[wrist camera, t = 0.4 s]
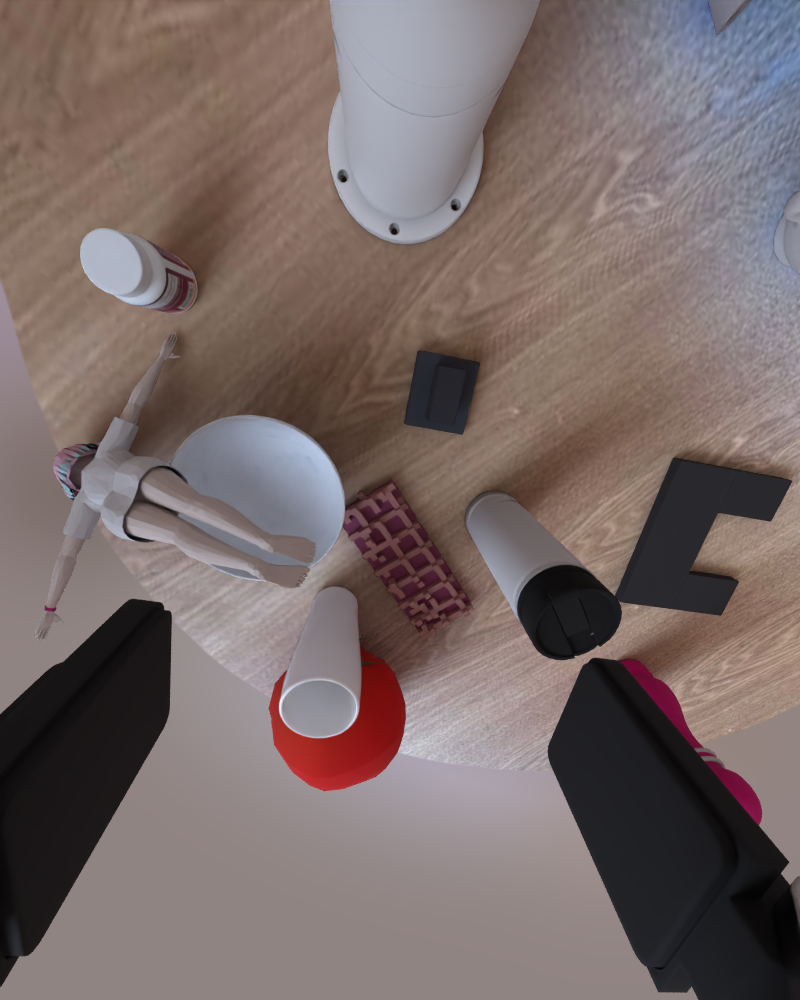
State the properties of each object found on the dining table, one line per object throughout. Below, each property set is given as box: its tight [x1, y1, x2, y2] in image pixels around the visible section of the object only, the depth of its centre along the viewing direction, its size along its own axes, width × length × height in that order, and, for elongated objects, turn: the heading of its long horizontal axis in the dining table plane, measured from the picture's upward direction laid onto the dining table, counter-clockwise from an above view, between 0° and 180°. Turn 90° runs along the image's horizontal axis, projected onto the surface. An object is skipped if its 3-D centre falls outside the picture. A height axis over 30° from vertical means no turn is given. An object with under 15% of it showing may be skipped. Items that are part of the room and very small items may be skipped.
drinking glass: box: [279, 586, 362, 738], centre depth 39 cm, size 7×7×15 cm
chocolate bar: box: [343, 480, 473, 637], centre depth 44 cm, size 7×19×2 cm, turn 31°
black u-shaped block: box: [615, 458, 792, 615], centre depth 46 cm, size 18×14×1 cm
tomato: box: [269, 635, 406, 791], centre depth 44 cm, size 16×14×14 cm
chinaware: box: [170, 415, 345, 581], centre depth 37 cm, size 15×15×8 cm
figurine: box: [34, 334, 316, 641], centre depth 30 cm, size 29×6×30 cm
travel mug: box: [465, 491, 622, 660], centre depth 34 cm, size 6×7×20 cm
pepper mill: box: [619, 660, 762, 826], centre depth 44 cm, size 7×7×20 cm
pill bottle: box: [80, 228, 198, 314], centre depth 30 cm, size 5×5×8 cm
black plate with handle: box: [404, 350, 480, 434], centre depth 37 cm, size 7×6×4 cm
